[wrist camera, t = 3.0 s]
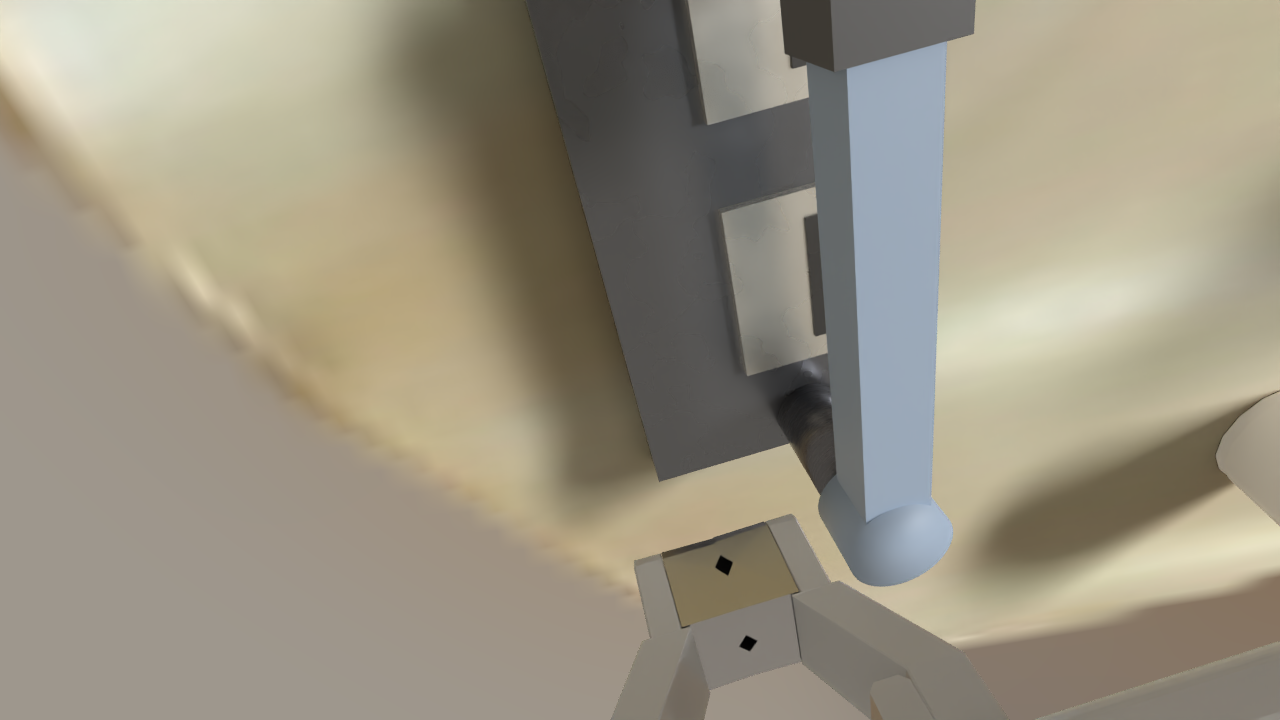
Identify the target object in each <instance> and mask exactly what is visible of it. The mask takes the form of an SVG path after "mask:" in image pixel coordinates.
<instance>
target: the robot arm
mask: <svg viewBox="0 0 1280 720" xmlns="http://www.w3.org/2000/svg"><path fill="white" fill-rule="evenodd" d="M661 554H662V556H661ZM662 558H663V559H662ZM664 565H665V566H664ZM634 570H635V574H636V578H637V583H638V587H639V592H640V596H641V601H642V605H643V610H644V614H645V619H646V623H647V627H648V632H649V636H650V639H647V640H644V641H642V643H641V645H640V648H639V650H638V653H637V655H636V658H635V661H634V663H633V665H632V668H631V670H630V673H629V675H628V678H627V680H626V683H625V685H624V688H623V690H622V693H621V695H620V698H619V700H618V703H617V705H616V708H615V711H614V713H613V715H612V718H611V720H704V718H705V713H706V709H707V705H708V701H709V696H710V691H709V690H712V689H715V688H718V687H721V686H724V685H726V684H729V683H732V682H735V681H738V680H741V679H744V678H747V677H750V676H753V675H755V674H760V673H763V672H767V671H770V670H774V669H777V668H781V667H784V666H788V665H792V664H795V663H798V662H802V664H803V665H804V666H806V667H807V668H808V669H809V670H811V671H812V672H813V673H814V674H815V675H817V676H818V677H819V678H820V679H821V680H823V681H824V682H825V683H826V684H828V685H829V686H830V687H831V688H832V689H834V690H835V691H836V692H837V693H839V694H840V695H841V696H842V697H844V698H845V699H846V700H847V701H849V702H850V703H851V704H852V705H853V706H855V707H856V708H857V709H858V710H860V711H861V712H862V713H863V714H864V715H866V716H867V717H868V718H869V719H871V720H1010V719H1009V718H1008V716H1007V715H1006V713H1005V712H1004V711H1003V709H1002V707H1001V706H1000V704H999V703H998V702H997V700H996V699H995V697H994V696H993V694H992V693H991V691H990V690H989V688H988V687H987V685H986V684H985V682H984V681H983V679H982V678H981V676H980V675H979V674H978V672H977V671H976V669H975V668H974V666H973V665H972V663H971V662H970V660H969V659H968V657H967V656H966V654H965V653H964V652H963V651H961V650H959V649H958V648H956V647H954V646H952V645H951V644H949V643H947V642H946V641H944V640H942V639H940V638H939V637H937V636H935V635H933V634H932V633H930V632H928V631H926V630H925V629H923V628H921V627H919V626H918V625H916V624H914V623H912V622H911V621H909V620H907V619H905V618H904V617H902V616H900V615H898V614H897V613H895V612H893V611H891V610H890V609H888V608H886V607H884V606H883V605H881V604H879V603H877V602H876V601H874V600H872V599H871V598H869V597H867V596H865V595H864V594H862V593H860V592H858V591H857V590H855V589H853V588H851V587H850V586H848V585H846V584H844V583H843V582H841V581H836V582H832V583H831V581H830V580H829V578H828V576H827V574H826V572H825V570H824V569H823V567H822V565H821V563H820V561H819V559H818V558H817V556H816V554H815V552H814V550H813V548H812V546H811V545H810V543H809V541H808V539H807V537H806V535H805V534H804V532H803V530H802V528H801V526H800V524H799V523H798V521H797V519H796V517H795V516H794V515H792V514H788V515H785V516H782V517H779V518H775V519H772V520H769V521H766V522H765V523H764V522H761V523H758V524H755V525H752V526H749V527H745V528H742V529H739V530H736V531H733V532H730V533H726V534H723V535H720V536H717V537H714V538H713V539H710V540H706V541H702V542H699V543H695V544H691V545H688V546H684V547H681V548H677V549H673V550H670V551H666V552H662V553H660V554H656V555H653V556H649V557H646V558H642V559H639V560H635V561H634ZM1034 720H1280V641H1278V642H1275V643H1272V644H1269V645H1266V646H1262V647H1259V648H1256V649H1253V650H1250V651H1247V652H1244V653H1241V654H1238V655H1234V656H1232V657H1228V658H1225V659H1222V660H1219V661H1216V662H1212V663H1209V664H1206V665H1203V666H1200V667H1197V668H1194V669H1191V670H1188V671H1184V672H1182V673H1178V674H1175V675H1172V676H1169V677H1166V678H1162V679H1159V680H1156V681H1153V682H1150V683H1147V684H1144V685H1141V686H1137V687H1134V688H1132V689H1128V690H1125V691H1122V692H1119V693H1116V694H1112V695H1109V696H1106V697H1103V698H1100V699H1097V700H1094V701H1091V702H1088V703H1084V704H1081V705H1078V706H1075V707H1072V708H1069V709H1066V710H1063V711H1059V712H1056V713H1053V714H1050V715H1047V716H1044V717H1041V718H1038V719H1034Z"/></svg>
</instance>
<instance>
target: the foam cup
mask: <svg viewBox="0 0 1280 720" xmlns="http://www.w3.org/2000/svg"><path fill="white" fill-rule="evenodd" d="M1216 460H1217V463H1218V467H1219V469H1220V470H1221V471H1222V472H1224V473H1225V474H1226V475H1227V477H1228V478H1229V479H1230V480H1231V481H1232V482H1233V483H1234V484H1235V485H1236V486H1237V487H1238V488H1239V489H1240V490H1242V491H1243V492H1244V493H1245V494H1246V495H1247V496H1248V497H1249V498H1250V499H1251V500H1252V501H1253V502H1254V503H1255V504H1257V505H1258V506H1259V507H1260V508H1261V509H1262V510H1263V511H1264V512H1265V513H1266V514H1267V515H1268V516H1269V517H1270V518H1272V519H1273V520H1274V521H1275V522H1276V523H1277V524H1278V525H1279V526H1280V391H1279V392H1277V393H1274V394H1272V395H1270V396H1268V397H1265V398H1263V399H1262V400H1260V401H1259V402H1258V403H1257V404H1255V405H1254V406H1253V407H1251V408H1250V409H1249V410H1247V411H1246V412H1245V413H1243V414H1242V415H1241V416H1239V418H1238V419H1237V420H1236V421H1235V422H1234V424H1233V425H1232V426H1231V427H1230V428H1229V430H1228V431H1227V432H1226V433H1225V435H1224V436H1223V437H1222V440H1221V442H1220V445H1219V448H1218V450H1217V453H1216Z"/></svg>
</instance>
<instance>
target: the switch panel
mask: <svg viewBox="0 0 1280 720" xmlns="http://www.w3.org/2000/svg"><path fill="white" fill-rule="evenodd" d="M525 3H526V6H527V10H528V13H529V17H530V21H531V24H532V28H533V31H534V35H535V38H536V42H537V46H538V49H539V53H540V56H541V60H542V64H543V67H544V71H545V74H546V78H547V82H548V85H549V89H550V92H551V96H552V100H553V103H554V107H555V110H556V114H557V118H558V121H559V125H560V128H561V132H562V136H563V139H564V143H565V146H566V150H567V154H568V157H569V161H570V164H571V168H572V172H573V175H574V179H575V182H576V186H577V190H578V193H579V197H580V200H581V204H582V208H583V211H584V215H585V218H586V222H587V226H588V229H589V233H590V236H591V240H592V244H593V247H594V251H595V254H596V258H597V262H598V265H599V269H600V272H601V276H602V280H603V283H604V287H605V290H606V294H607V298H608V301H609V305H610V308H611V312H612V316H613V319H614V323H615V326H616V330H617V334H618V337H619V341H620V344H621V348H622V352H623V355H624V359H625V362H626V366H627V370H628V373H629V377H630V380H631V384H632V388H633V391H634V395H635V398H636V402H637V406H638V409H639V413H640V416H641V420H642V423H643V427H644V431H645V434H646V438H647V441H648V445H649V449H650V452H651V456H652V459H653V463H654V466H655V469H656V473H657V476H658V479H659V482H660V481H663V480H667V479H670V478H673V477H677V476H680V475H684V474H687V473H690V472H694V471H697V470H700V469H704V468H707V467H711V466H714V465H717V464H721V463H724V462H728V461H731V460H734V459H738V458H741V457H745V456H748V455H751V454H755V453H758V452H762V451H765V450H768V449H772V448H775V447H778V446H782V445H785V444H789V443H790V445H791V446H792V448H793V450H794V451H795V453H796V455H797V456H798V458H799V460H800V462H801V463H802V465H803V467H804V468H805V470H806V472H807V473H808V475H809V477H810V478H811V480H812V482H813V484H814V485H815V487H816V489H817V490H818V492H819V494H820V495H821V493H822V491H823V489H824V488H825V486H826V485H827V484H828V482H829V481H830V480H831V479H832V478H833V477H834V476H835V475H836V474H837V472H836V459H835V445H834V431H833V418H832V404H831V391H830V377H829V363H828V350H827V336H826V323H825V309H824V296H823V282H822V268H821V255H820V241H819V228H818V214H817V201H816V187H815V173H814V160H813V146H812V133H811V119H810V106H809V92H808V78H807V65H806V61H803V60H800V59H797V58H795V57H792V56H789V55H787V54H785V53H784V41H783V30H782V19H781V8H780V0H525Z"/></svg>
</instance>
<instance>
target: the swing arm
mask: <svg viewBox="0 0 1280 720" xmlns="http://www.w3.org/2000/svg"><path fill="white" fill-rule="evenodd" d="M975 2H976V0H780V8H781V19H782V30H783V41H784V53H785V54H787V55H789V56H792V57H795V58H797V59H800V60H803V61H806V65H807V78H808V92H809V106H810V119H811V133H812V146H813V160H814V173H815V187H816V201H817V214H818V228H819V241H820V255H821V268H822V282H823V296H824V309H825V323H826V336H827V350H828V363H829V377H830V391H831V404H832V418H833V431H834V445H835V459H836V472H837V474H836V475H835V476H834V477H833V478H832V479H831V480H830V481H829V482H828V484H827V485H826V486H825V488H824V489H823V491H822V493H821V496H820V499H819V504H818V510H819V514H820V517H821V519H822V520H823V522H824V524H825V526H826V527H827V529H828V531H829V533H830V535H831V536H832V538H833V540H834V542H835V543H836V545H837V547H838V549H839V550H840V552H841V554H842V556H843V557H844V559H845V561H846V563H847V564H848V566H849V568H850V570H851V571H852V573H853V575H854V576H855V577H856V578H857V579H858V580H859V581H861V582H862V583H865V584H867V585H871V586H892V585H897V584H901V583H904V582H907V581H909V580H912V579H914V578H916V577H918V576H920V575H921V574H923V573H925V572H926V571H928V570H929V569H930V568H932V567H933V566H934V565H935V564H936V563H937V562H938V561H939V560H940V559H941V558H942V557H943V555H944V554H945V553H946V551H947V550H948V548H949V546H950V544H951V541H952V537H953V527H952V524H951V522H950V520H949V519H948V517H947V516H946V515H945V514H944V512H943V511H942V510H941V509H940V507H939V506H938V505H937V504H936V502H935V501H934V500H933V499H932V497H931V487H932V458H933V429H934V400H935V371H936V342H937V313H938V284H939V255H940V226H941V197H942V168H943V139H944V110H945V81H946V52H947V41H950V40H953V39H957V38H961V37H964V36H968V35H971V34H974V20H975Z"/></svg>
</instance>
